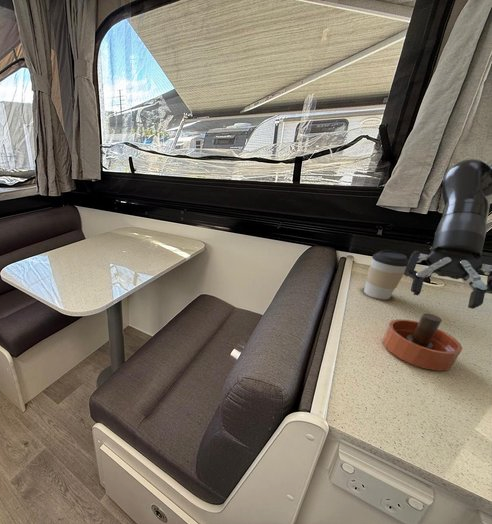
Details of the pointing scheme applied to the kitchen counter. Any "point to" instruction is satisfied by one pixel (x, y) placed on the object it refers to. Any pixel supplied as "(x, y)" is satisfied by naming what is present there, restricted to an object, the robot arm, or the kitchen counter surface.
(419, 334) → the pepper mill
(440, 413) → the kitchen counter surface
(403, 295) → the kitchen counter surface
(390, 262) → the coffee cup
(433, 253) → the robot arm
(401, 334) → the bowl
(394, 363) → the kitchen counter surface
